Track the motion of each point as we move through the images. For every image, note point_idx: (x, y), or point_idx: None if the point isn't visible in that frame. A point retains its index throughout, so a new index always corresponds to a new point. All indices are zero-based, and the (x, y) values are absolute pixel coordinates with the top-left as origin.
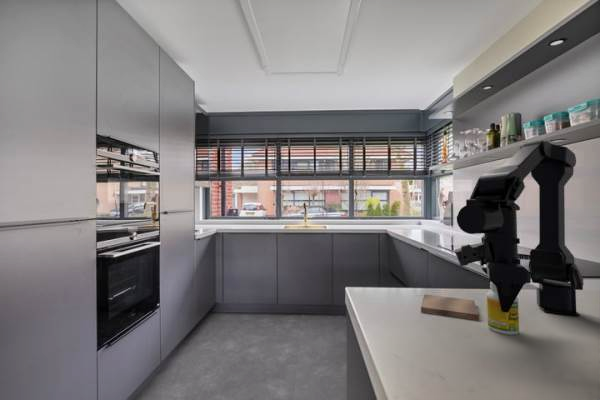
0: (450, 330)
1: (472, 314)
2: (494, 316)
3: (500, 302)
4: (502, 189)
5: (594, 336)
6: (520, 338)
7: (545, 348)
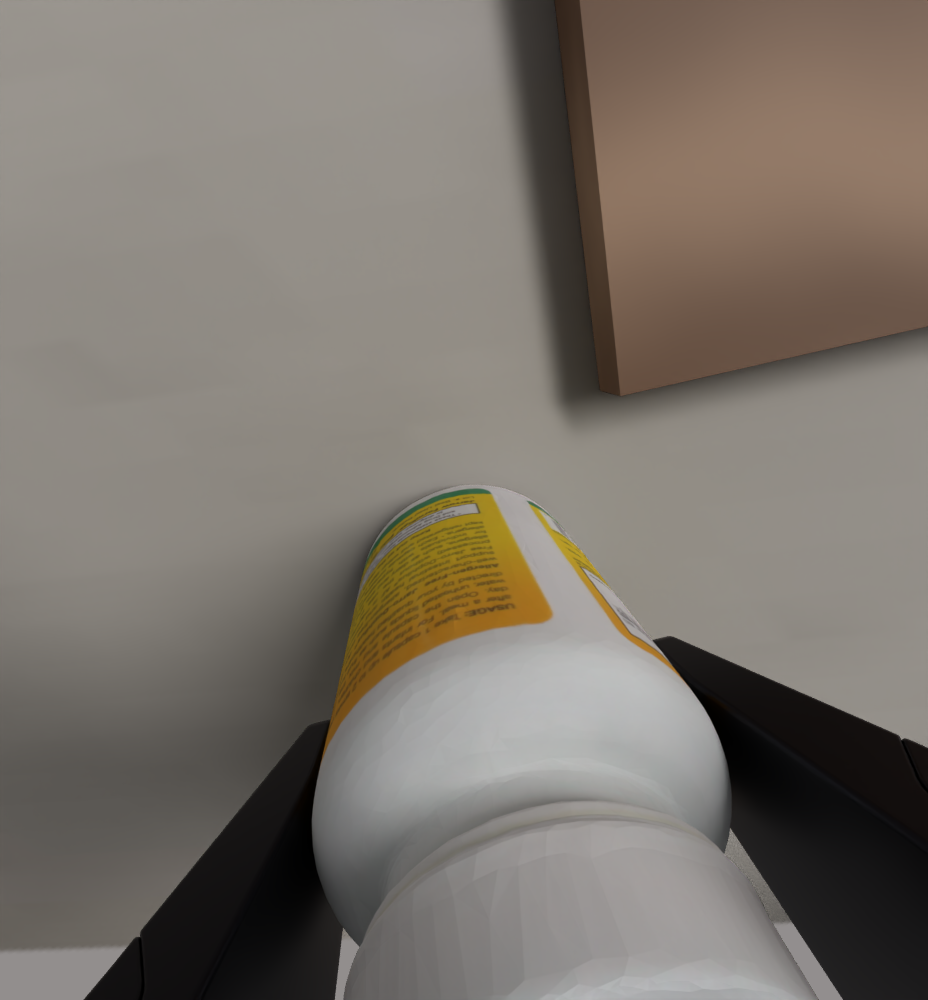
0: (107, 196)
1: (613, 339)
2: (361, 603)
3: (228, 828)
4: None
5: None
6: None
7: None
